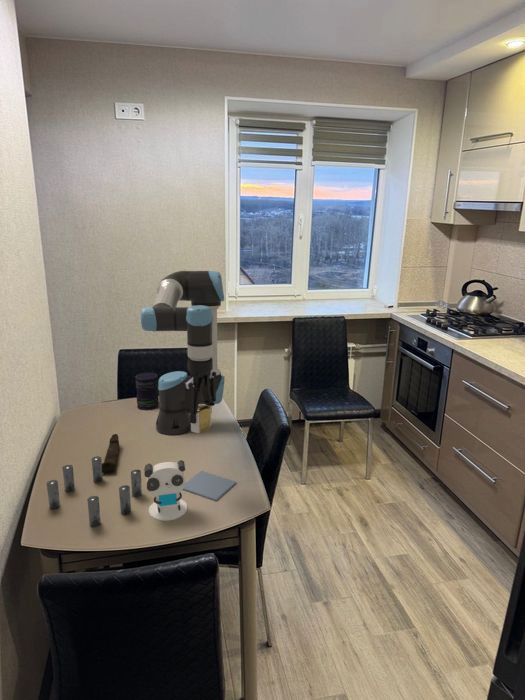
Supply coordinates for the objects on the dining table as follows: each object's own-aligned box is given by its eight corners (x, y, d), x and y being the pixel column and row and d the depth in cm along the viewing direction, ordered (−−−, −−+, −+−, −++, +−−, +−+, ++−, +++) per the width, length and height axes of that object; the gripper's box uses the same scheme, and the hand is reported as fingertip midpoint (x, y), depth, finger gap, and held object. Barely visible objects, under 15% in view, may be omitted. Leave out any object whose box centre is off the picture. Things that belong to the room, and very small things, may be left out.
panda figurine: (146, 523, 136) (144, 476, 132) (146, 501, 146) (144, 457, 142) (188, 517, 139) (187, 472, 135) (185, 496, 149) (184, 453, 145)
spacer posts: (91, 474, 161) (89, 452, 159) (152, 496, 149) (151, 474, 147) (39, 503, 144) (36, 480, 142) (103, 532, 132) (101, 506, 130)
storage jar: (152, 400, 226) (151, 370, 222) (162, 407, 219) (161, 376, 215) (133, 405, 220) (131, 375, 216) (143, 412, 213) (141, 380, 209)
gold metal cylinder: (199, 424, 153) (199, 403, 151) (213, 427, 150) (213, 407, 148) (188, 430, 148) (188, 409, 146) (203, 434, 146) (202, 413, 144)
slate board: (201, 472, 164) (201, 470, 163) (236, 483, 157) (236, 481, 157) (179, 488, 153) (179, 487, 153) (216, 501, 147) (216, 499, 147)
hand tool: (115, 474, 162) (114, 459, 160) (101, 475, 161) (100, 460, 159) (125, 444, 183) (124, 431, 182) (112, 445, 183) (111, 431, 181)
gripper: (208, 348, 153) (208, 415, 159) (170, 363, 137) (172, 436, 143) (227, 352, 149) (227, 420, 155) (191, 367, 133) (192, 442, 140)
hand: (201, 428), depth 149 cm, fingers closed on gold metal cylinder, 5 cm apart
